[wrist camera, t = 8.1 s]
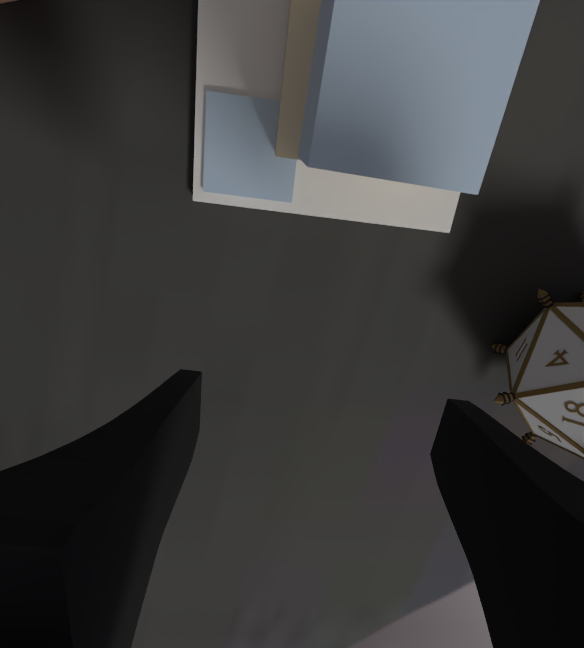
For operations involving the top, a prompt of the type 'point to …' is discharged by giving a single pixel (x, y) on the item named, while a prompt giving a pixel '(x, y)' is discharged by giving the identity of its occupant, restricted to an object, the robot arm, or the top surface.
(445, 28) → the blue-grey block
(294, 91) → the maple base block
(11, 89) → the top surface
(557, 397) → the game die
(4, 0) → the terracotta block
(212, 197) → the mat
